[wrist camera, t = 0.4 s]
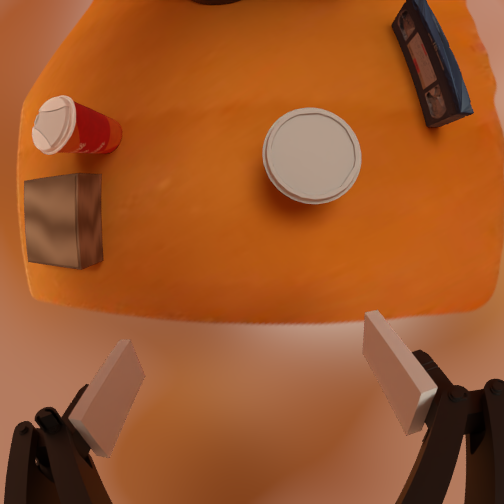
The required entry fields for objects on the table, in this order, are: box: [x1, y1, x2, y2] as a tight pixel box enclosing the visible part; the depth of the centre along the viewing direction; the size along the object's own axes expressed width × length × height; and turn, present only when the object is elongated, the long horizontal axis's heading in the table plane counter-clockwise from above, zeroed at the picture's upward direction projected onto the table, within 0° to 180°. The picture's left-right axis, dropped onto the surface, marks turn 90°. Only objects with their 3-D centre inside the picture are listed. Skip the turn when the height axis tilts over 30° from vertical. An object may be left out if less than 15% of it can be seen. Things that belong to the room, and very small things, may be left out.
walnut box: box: [24, 173, 103, 270], centre depth 39 cm, size 14×14×6 cm
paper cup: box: [32, 95, 122, 155], centre depth 31 cm, size 8×8×14 cm
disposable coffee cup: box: [263, 108, 361, 204], centre depth 30 cm, size 10×10×12 cm
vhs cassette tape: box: [392, 0, 474, 127], centre depth 26 cm, size 18×3×10 cm, turn 10°
